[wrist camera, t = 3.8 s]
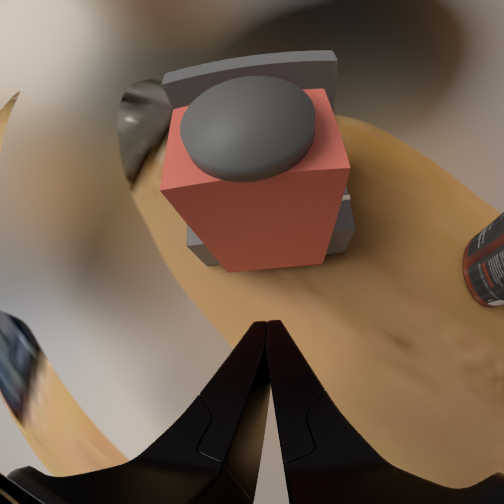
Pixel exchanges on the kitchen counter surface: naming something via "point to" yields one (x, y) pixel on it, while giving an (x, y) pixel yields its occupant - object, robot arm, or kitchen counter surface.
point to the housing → (273, 65)
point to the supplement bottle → (486, 264)
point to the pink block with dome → (257, 172)
